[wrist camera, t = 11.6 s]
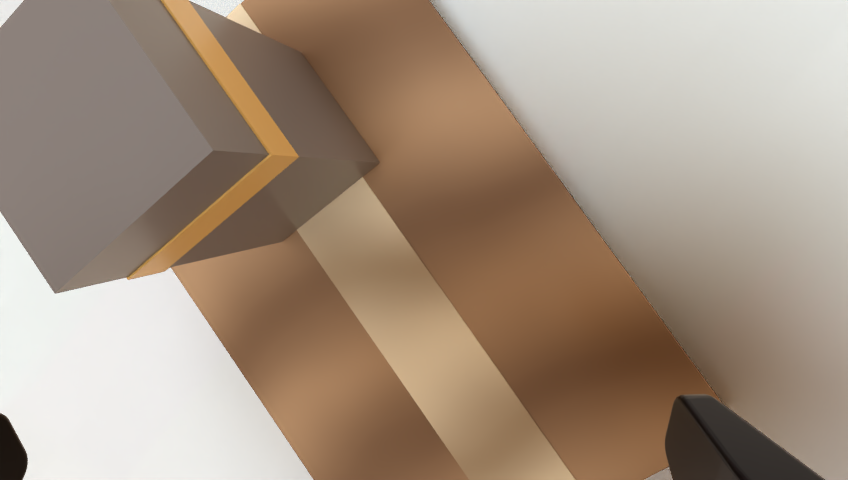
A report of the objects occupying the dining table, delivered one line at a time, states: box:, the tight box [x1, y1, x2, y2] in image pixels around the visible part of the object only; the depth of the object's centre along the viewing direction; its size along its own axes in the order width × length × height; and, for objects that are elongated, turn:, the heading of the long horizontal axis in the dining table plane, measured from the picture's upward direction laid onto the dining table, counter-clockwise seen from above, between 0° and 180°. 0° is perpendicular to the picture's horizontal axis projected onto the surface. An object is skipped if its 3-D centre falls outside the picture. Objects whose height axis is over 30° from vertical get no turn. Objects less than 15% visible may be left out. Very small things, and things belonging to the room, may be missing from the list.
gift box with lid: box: [0, 0, 380, 293], centre depth 15 cm, size 5×5×9 cm
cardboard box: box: [171, 0, 723, 480], centre depth 20 cm, size 20×13×2 cm, turn 38°
